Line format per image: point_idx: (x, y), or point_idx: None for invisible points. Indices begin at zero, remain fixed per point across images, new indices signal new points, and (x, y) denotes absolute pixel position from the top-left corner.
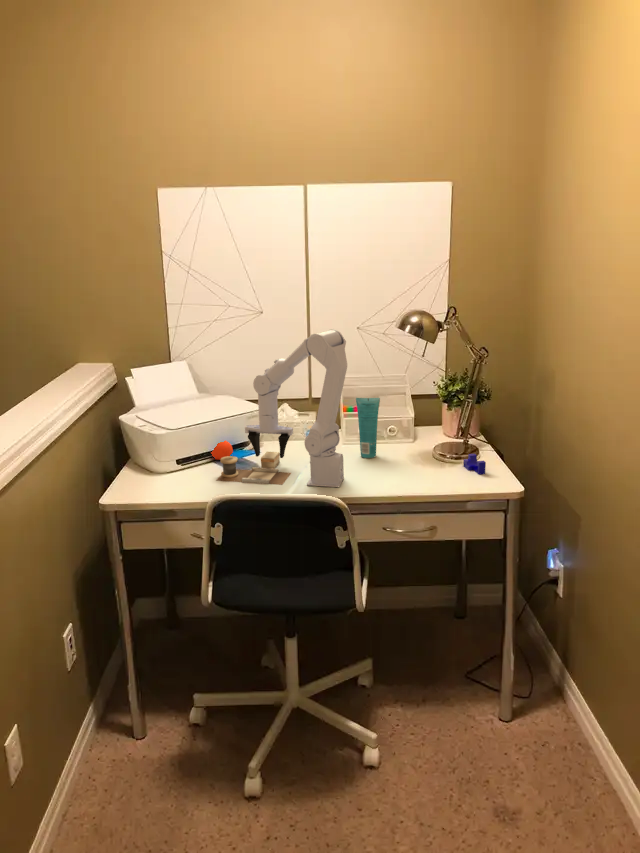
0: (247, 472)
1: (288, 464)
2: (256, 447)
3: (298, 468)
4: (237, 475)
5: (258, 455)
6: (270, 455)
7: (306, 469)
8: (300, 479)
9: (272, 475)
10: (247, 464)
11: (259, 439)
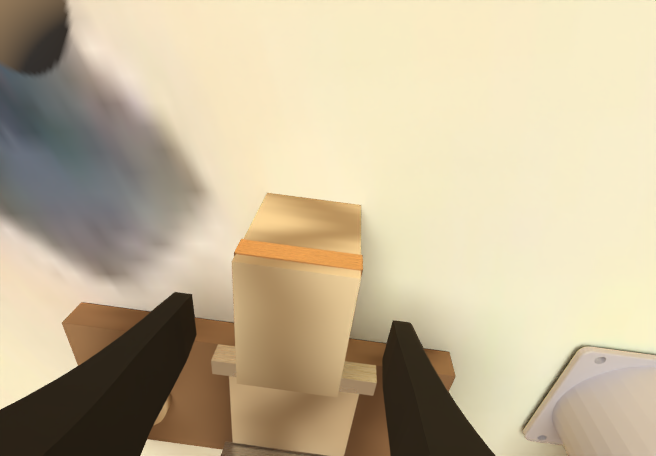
0: (200, 367)
1: (422, 141)
2: (154, 420)
3: (500, 223)
4: (170, 401)
5: (193, 329)
6: (296, 347)
7: (558, 240)
8: (496, 372)
9: (349, 407)
10: (105, 153)
11: (100, 402)
